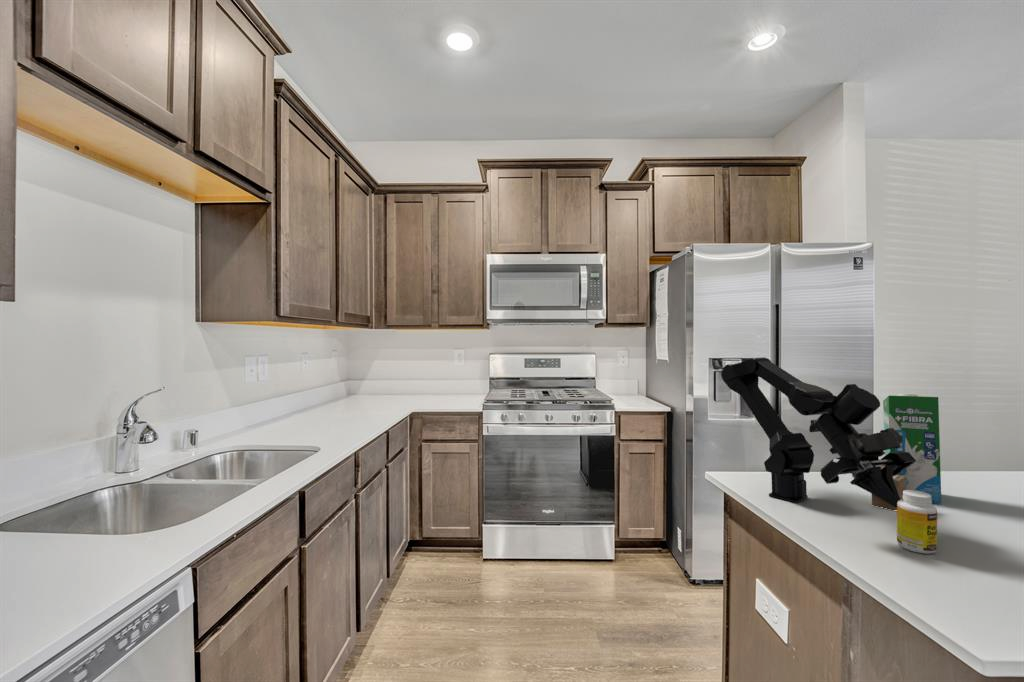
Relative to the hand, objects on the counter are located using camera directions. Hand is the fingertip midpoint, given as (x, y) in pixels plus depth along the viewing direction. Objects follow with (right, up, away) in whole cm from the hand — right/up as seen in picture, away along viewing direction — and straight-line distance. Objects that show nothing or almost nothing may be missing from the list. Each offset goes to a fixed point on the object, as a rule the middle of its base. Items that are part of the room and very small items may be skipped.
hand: (899, 506), depth 87 cm
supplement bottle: (+1, -7, -3) cm, 7 cm away
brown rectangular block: (+13, -7, +18) cm, 23 cm away
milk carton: (+24, -7, +25) cm, 35 cm away
